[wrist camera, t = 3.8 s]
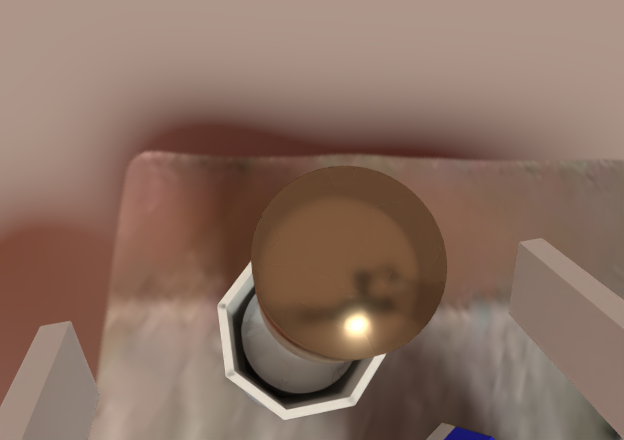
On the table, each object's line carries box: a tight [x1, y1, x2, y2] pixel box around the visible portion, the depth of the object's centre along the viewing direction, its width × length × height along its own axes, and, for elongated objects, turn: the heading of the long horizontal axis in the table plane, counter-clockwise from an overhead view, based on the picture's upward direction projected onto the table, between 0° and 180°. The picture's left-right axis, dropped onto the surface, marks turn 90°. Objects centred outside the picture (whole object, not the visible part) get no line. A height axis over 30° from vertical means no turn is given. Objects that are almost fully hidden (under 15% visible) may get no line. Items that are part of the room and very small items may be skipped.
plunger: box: [242, 166, 447, 393], centre depth 22 cm, size 8×8×22 cm
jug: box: [217, 262, 386, 420], centre depth 36 cm, size 14×12×15 cm
